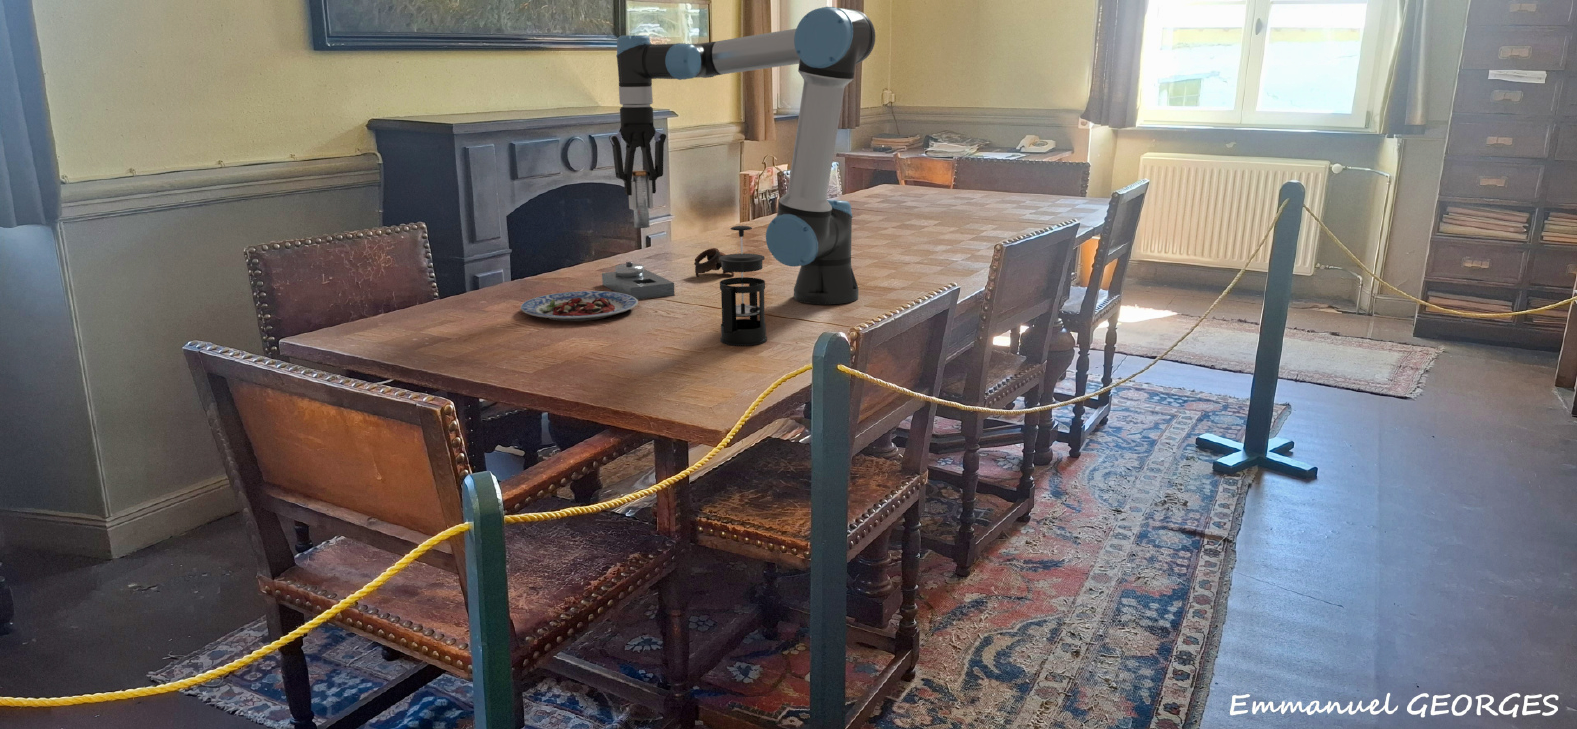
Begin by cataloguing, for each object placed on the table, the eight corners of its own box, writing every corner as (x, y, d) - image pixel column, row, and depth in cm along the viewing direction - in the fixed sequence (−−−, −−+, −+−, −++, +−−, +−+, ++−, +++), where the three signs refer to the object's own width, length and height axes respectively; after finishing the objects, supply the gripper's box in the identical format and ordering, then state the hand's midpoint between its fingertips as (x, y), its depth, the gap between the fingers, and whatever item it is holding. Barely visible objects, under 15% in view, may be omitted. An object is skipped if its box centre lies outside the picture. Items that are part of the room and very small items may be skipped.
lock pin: (651, 227, 255) (649, 171, 251) (637, 228, 253) (634, 172, 249) (646, 225, 258) (643, 169, 254) (632, 226, 256) (629, 170, 252)
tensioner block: (674, 295, 258) (673, 270, 257) (630, 300, 253) (629, 275, 252) (644, 280, 275) (642, 256, 273) (602, 284, 270) (601, 261, 268)
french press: (736, 331, 224) (733, 220, 218) (776, 336, 220) (775, 223, 214) (707, 345, 214) (703, 229, 208) (748, 350, 210) (746, 232, 204)
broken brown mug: (738, 280, 276) (723, 255, 272) (705, 297, 277) (690, 271, 273) (734, 260, 286) (719, 235, 282) (702, 276, 288) (687, 251, 283)
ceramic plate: (655, 303, 251) (655, 290, 251) (608, 330, 228) (608, 316, 227) (555, 297, 258) (554, 285, 257) (499, 323, 234) (498, 309, 233)
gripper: (663, 103, 255) (667, 203, 261) (596, 106, 247) (602, 209, 254) (676, 105, 248) (680, 207, 255) (607, 107, 241) (613, 213, 247)
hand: (641, 208), depth 254 cm, fingers closed on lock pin, 3 cm apart
